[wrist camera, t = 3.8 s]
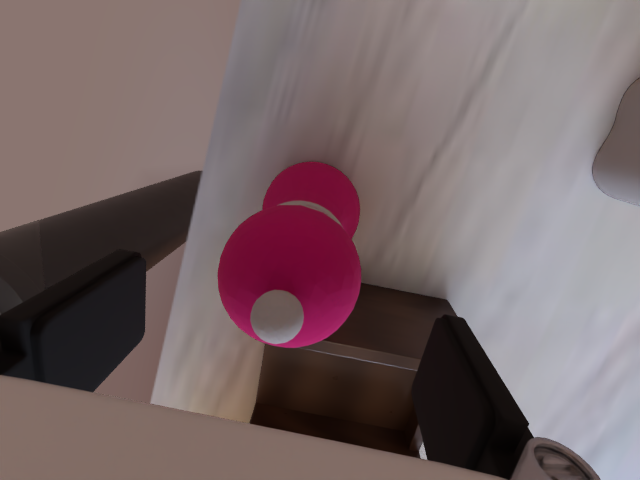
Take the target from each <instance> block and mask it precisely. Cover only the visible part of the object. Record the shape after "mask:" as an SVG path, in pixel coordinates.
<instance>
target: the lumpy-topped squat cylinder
mask: <svg viewBox="0 0 640 480" xmlns="http://www.w3.org/2000/svg"><path fill="white" fill-rule="evenodd" d="M593 177H594V180H595V182H596V184H597V186H598V187H599V188H600V189H601V190H602V191H603V192H604V193H605V194H607V195H609V196H611V197H613V198H616V199H619V200H622V201H625V202H628V203H631V204H635V205H639V206H640V78H639V79H638V80H636V81H635V82H634V83H633V84H632V85H631V86H630V87H629V88H628V90H627V91H626V93H625V94H624V96H623V98H622V101H621V103H620V106H619V109H618V113H617V116H616V120H615V123H614V125H613V128H612V130H611V132H610V134H609V136H608V137H607V139H606V141H605V142H604V144H603V145H602V147H601V149H600V150H599V152H598V154H597V156H596V158H595V161H594V164H593Z"/></svg>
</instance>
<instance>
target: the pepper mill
mask: <svg viewBox="0 0 640 480" xmlns="http://www.w3.org/2000/svg"><path fill="white" fill-rule="evenodd" d="M359 215H360V205H359V198H358V195H357V192H356V190H355V188H354V186H353V184H352V183H351V181H350V180H349V179H348V178H347V177H346V176H345V175H344V174H343V173H342V172H341V171H339V170H338V169H336V168H334V167H332V166H330V165H327V164H324V163H320V162H302V163H298V164H295V165H293V166H290V167H288V168H287V169H285V170H284V171H282V172H281V173H280V174H279V175H278V176H277V177H276V178H275V179H274V180H273V182H272V183H271V185H270V187H269V188H268V190H267V192H266V195H265V198H264V202H263V210H262V211H260V212H258V213H256V214H254V215H252V216H251V217H249V218H248V219H247V220H245V221H244V222H243V223H242V224H240V225H239V226H238V228H237V229H236V230H235V231H234V232H233V234H232V235H231V237H230V238H229V240H228V241H227V243H226V245H225V247H224V250H223V252H222V255H221V258H220V263H219V268H218V288H219V293H220V297H221V300H222V303H223V305H224V307H225V309H226V311H227V313H228V314H229V316H230V318H231V319H232V320H233V321H234V322H235V324H236V325H237V326H238V327H239V328H240V329H241V330H243V331H244V332H245V333H247V334H248V335H249V336H251V337H253V338H255V339H256V340H258V341H260V342H263V343H266V344H269V345H273V346H279V347H285V348H297V347H302V346H308V345H311V344H314V343H316V342H319V341H322V340H323V339H325V338H327V337H329V336H330V335H331V334H332V333H334V332H335V331H336V330H338V328H339V327H340V326H341V325H342V324H343V323H344V322H345V321H346V319H347V318H348V316H349V315H350V313H351V312H352V310H353V309H354V306H355V303H356V301H357V298H358V295H359V291H360V286H361V266H360V261H359V256H358V253H357V251H356V248H355V245H354V244H353V242H352V240H351V239H352V237H353V235H354V233H355V231H356V229H357V226H358V222H359Z"/></svg>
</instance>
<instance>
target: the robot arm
mask: <svg viewBox="0 0 640 480" xmlns="http://www.w3.org/2000/svg"><path fill="white" fill-rule="evenodd" d="M145 291H146V261H145V259H144V258H142V257H141V254H140V253H138V252H133V251H128V250H123V249H118V250H116V251H114V252H113V253H111V254H109V255H107V256H105V257H104V258H102V259H100V260H98V261H96V262H95V263H93V264H91V265H89V266H87V267H85V268H84V269H82V270H80V271H78V272H76V273H75V274H73V275H71V276H69V277H67V278H66V279H64V280H62V281H60V282H58V283H57V284H55V285H53V286H51V287H49V288H48V289H46V290H44V291H42V292H40V293H39V294H37V295H35V296H33V297H31V298H30V299H28V300H26V301H24V302H22V303H21V304H19V305H17V306H15V307H13V308H12V309H10V310H8V311H6V312H4V313H3V314H1V313H0V480H600V478H599V476H598V475H597V474H596V472H595V471H594V470H593V469H592V467H591V466H590V465H589V464H588V463H587V462H585V461H584V460H583V459H582V458H581V457H580V456H579V455H577V454H576V453H575V452H573V451H572V450H571V449H569V448H567V447H566V446H564V445H562V444H560V443H558V442H556V441H553V440H550V439H548V438H541V437H536V438H534V437H533V435H532V434H531V432H530V430H529V429H528V425H529V423H528V421H527V420H526V418H525V416H524V415H523V413H522V411H521V410H520V408H519V407H518V405H517V403H516V402H515V400H514V399H513V397H512V395H511V394H510V392H509V390H508V389H507V387H506V386H505V384H504V382H503V381H502V379H501V377H500V376H499V374H498V373H497V371H496V369H495V368H494V366H493V365H492V363H491V361H490V360H489V358H488V356H487V355H486V353H485V352H484V350H483V348H482V347H481V345H480V344H479V342H478V340H477V339H476V337H475V335H474V334H473V332H472V331H471V329H470V327H469V326H468V324H467V323H466V321H465V319H464V318H461V317H456V316H451V315H446V314H444V315H443V316H442V317H441V318H436V320H435V322H434V324H433V327H432V330H431V333H430V336H429V339H428V341H427V344H426V347H425V350H424V353H423V356H422V358H421V361H420V364H419V367H418V370H417V373H416V375H415V378H414V381H413V384H412V391H411V393H412V399H413V403H414V407H415V411H416V415H417V419H418V423H419V427H420V431H421V435H422V439H423V443H424V447H425V451H426V455H427V459H428V460H424V459H420V458H415V457H410V456H405V455H400V454H396V453H391V452H386V451H381V450H376V449H372V448H367V447H362V446H357V445H352V444H347V443H343V442H338V441H333V440H328V439H323V438H318V437H313V436H308V435H303V434H298V433H293V432H288V431H283V430H278V429H273V428H268V427H263V426H258V425H253V424H249V423H244V422H239V421H234V420H229V419H224V418H219V417H214V416H209V415H204V414H199V413H194V412H189V411H184V410H179V409H174V408H169V407H164V406H160V405H155V404H150V403H144V402H140V401H135V400H130V399H125V398H120V397H114V396H109V395H104V394H99V393H94V391H95V389H96V388H97V387H98V386H99V385H100V384H101V383H102V382H103V381H104V380H105V379H106V378H107V377H108V376H109V374H110V373H111V372H112V371H113V370H114V369H115V368H116V367H117V366H118V365H119V364H120V363H121V362H122V361H123V360H124V358H125V357H126V356H127V355H128V354H129V353H130V352H131V351H132V350H133V349H134V347H136V346H137V345H138V343H139V342H140V341H141V340H142V338H143V336H144V332H145V297H146V296H145V294H146V292H145Z"/></svg>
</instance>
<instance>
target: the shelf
mask: <svg viewBox="0 0 640 480" xmlns="http://www.w3.org/2000/svg"><path fill="white" fill-rule="evenodd" d="M444 314H446V315H451V316H456V317H458V316H457V315H456V313H455V311H454V310H453V308H452V307H451V305H450V303H449V302H448V300H445V299H440V298H435V297H430V296H425V295H419V294H414V293H409V292H404V291H399V290H394V289H389V288H384V287H379V286H374V285H368V284H363V283H361V286H360V291H359V295H358V298H357V301H356V303H355V306H354V309H353V310H352V312H351V313H350V315H349V316H348V318H347V319H346V321H345V322H344V323H343V324H342V325H341V326H340V327H339V328H338V330H336V331H335V332H334V333H332V334H331V335H330V336H329V337H327V338H325V339H323V340H322V341H319V342H316V343H314V344H311V345H308V346H302V347H297V348H285V347H279V346H273V345H269V344H266V343H265V349H264V355H263V361H262V367H261V373H260V380H259V386H258V392H257V398H256V404H255V407H254V410H253V414H252V417H251V420H250V424H253V425H258V426H263V427H268V428H273V429H278V430H283V431H288V432H293V433H298V434H303V435H308V436H313V437H318V438H323V439H328V440H333V441H338V442H343V443H347V444H352V445H357V446H362V447H367V448H372V449H376V450H381V451H386V452H391V453H396V454H400V455H405V456H410V457H415V458H420V454H419V450H420V447H421V445H422V442H423V439H422V435H421V431H420V427H419V423H418V419H417V415H416V411H415V407H414V403H413V399H412V393H411V391H412V384H413V381H414V378H415V375H416V373H417V370H418V367H419V364H420V361H421V358H422V356H423V353H424V350H425V347H426V344H427V341H428V339H429V336H430V333H431V330H432V327H433V324H434V322H435V320H436V318H441V317H442V316H443V315H444ZM420 459H421V458H420Z"/></svg>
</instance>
